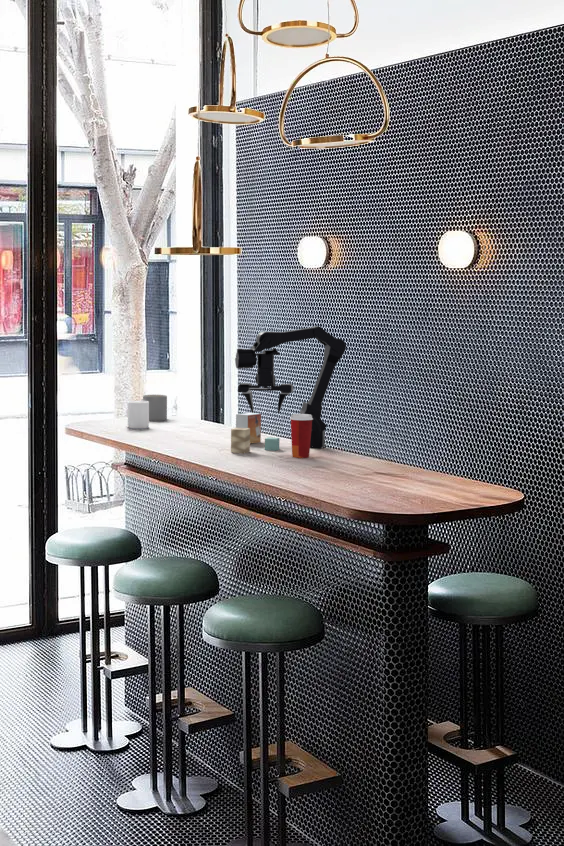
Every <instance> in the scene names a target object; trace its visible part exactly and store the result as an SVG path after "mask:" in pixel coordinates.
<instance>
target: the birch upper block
mask: <svg viewBox="0 0 564 846" xmlns="http://www.w3.org/2000/svg"><path fill="white" fill-rule="evenodd" d="M249 440H250V428H236V427H233V428H231V430H230V442H231V441H238V442H246V441H249Z"/></svg>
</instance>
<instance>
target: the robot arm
mask: <svg viewBox="0 0 564 846" xmlns="http://www.w3.org/2000/svg"><path fill="white" fill-rule="evenodd" d="M310 339H316V340H317V341H318V342H319V343H320V344H321V345H323V346H324V351H323V362H322V365H321V368H320V372H318V373H319V374H318V375H317V376H318V377H317V379H316V382H315V383H314V387H313V390H312V393H311V396H310V398H309V400H308V401H307V402H305V401H303V402H302V406H301V409H300V410H299V414H310V415H312V418H313V420H312V430H311V441H310V448H314V449H315V448H316V449H322V448H325V447H326V446H327V444H325V443H326V441H325V440H326V429H327V424H326V422H324V421H323V420H322V411H323V401H324V398H325V395H326V394H327V393H326V392H327V389H328V387H329V384H330V381H331V378H332V377H333V373H334V370H335V369H336V368H335V367H336V366H337V363H339V362H340V360H341V359H342V357H343V355H344V354H345V352H346V349H347V344H346V342H345V341H344V340H343V339H342V338H337V337H335V336H334V335H332V334H331V333H329V332H328V331H326V330H325V329H324V328H323V327H321V326H317V325H315V326H314V325H313V326H311V327H305V328H299V329H292V330H287V331H261V332H259V333H257V335H256V338H255V342H254V343H253V345H252V346H251V348H236V353H235V357H234V358H235V359H234V363H235V367H236V369H254V366H257V367H256V368H257V372H256V373H255V383H256V385H255V384H254V385H253V384H252V383H250V382H249V383H248V382H241V383H239V384H238V385H237V393H241V395H242V396H244V397H245V399H246V401H247V403H248V406H249V409H250V411H251V412H250V413H254V409H255V408H254V401H253V399H254V398H253V392H254V391H255V392H256V391H263V392H267V391H268V392H280V393H279V394H278V402H277V413H278V414H280V412H281V409H282V406H283V403H284V402H285V401H284V400H285V398H286V396H289V395H290V394H292V393H294V385H293V384H292V383H281V384H280V385H276V376H275V356H279V355H280V354H281V353H280V352H279V351H278V350H277V348H275V347H278V346H280V345H282V344H285V343H290V342H296V341H305V340H310Z"/></svg>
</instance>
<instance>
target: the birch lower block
mask: <svg viewBox="0 0 564 846" xmlns="http://www.w3.org/2000/svg"><path fill="white" fill-rule="evenodd" d="M250 451H251V443H250V440H249V441H246V442H238V441H231V440H230V453H231V452H233V453H234V454H244V453H245V454H248V453H250Z"/></svg>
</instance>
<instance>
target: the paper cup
mask: <svg viewBox="0 0 564 846" xmlns="http://www.w3.org/2000/svg"><path fill="white" fill-rule="evenodd" d="M289 420H290V432H291V433H290V434H291V435H290V436H291V455H292V458H296V459H308V458H310V450H311V447H310V441H311V430H312V420H313V418H312V415H310V414H301V413H293V414H291V415H290V418H289Z"/></svg>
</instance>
